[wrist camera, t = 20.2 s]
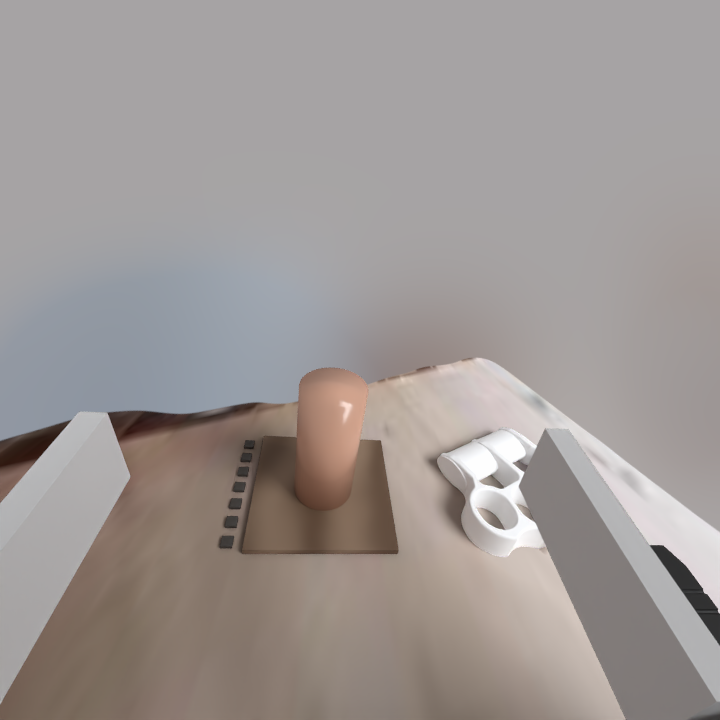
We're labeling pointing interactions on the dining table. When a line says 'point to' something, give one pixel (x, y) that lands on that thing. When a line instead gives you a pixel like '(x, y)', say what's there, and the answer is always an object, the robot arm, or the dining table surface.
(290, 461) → the stub board
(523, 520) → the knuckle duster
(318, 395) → the canister
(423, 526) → the dining table surface
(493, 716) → the dining table surface
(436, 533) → the dining table surface
